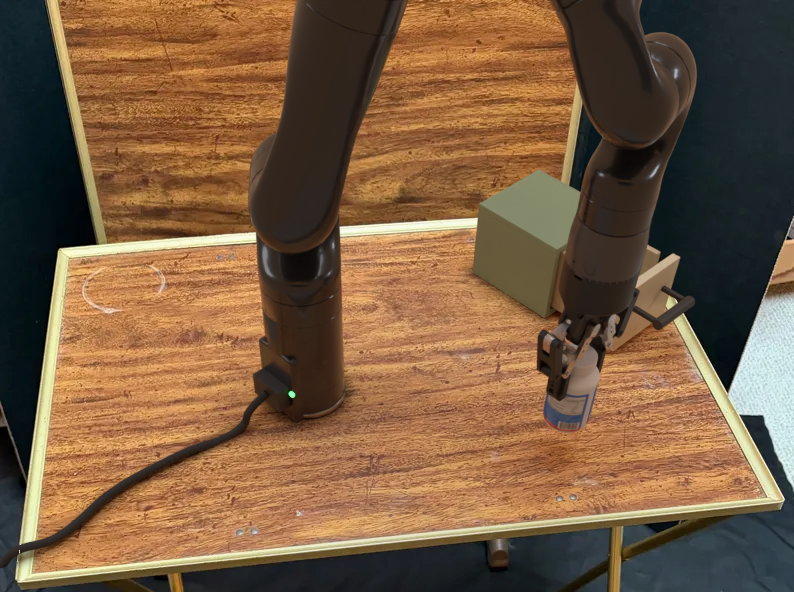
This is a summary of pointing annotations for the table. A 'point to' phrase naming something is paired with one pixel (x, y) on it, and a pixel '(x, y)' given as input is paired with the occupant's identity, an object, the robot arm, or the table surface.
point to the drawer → (644, 295)
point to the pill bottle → (575, 396)
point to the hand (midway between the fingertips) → (573, 383)
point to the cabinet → (525, 238)
